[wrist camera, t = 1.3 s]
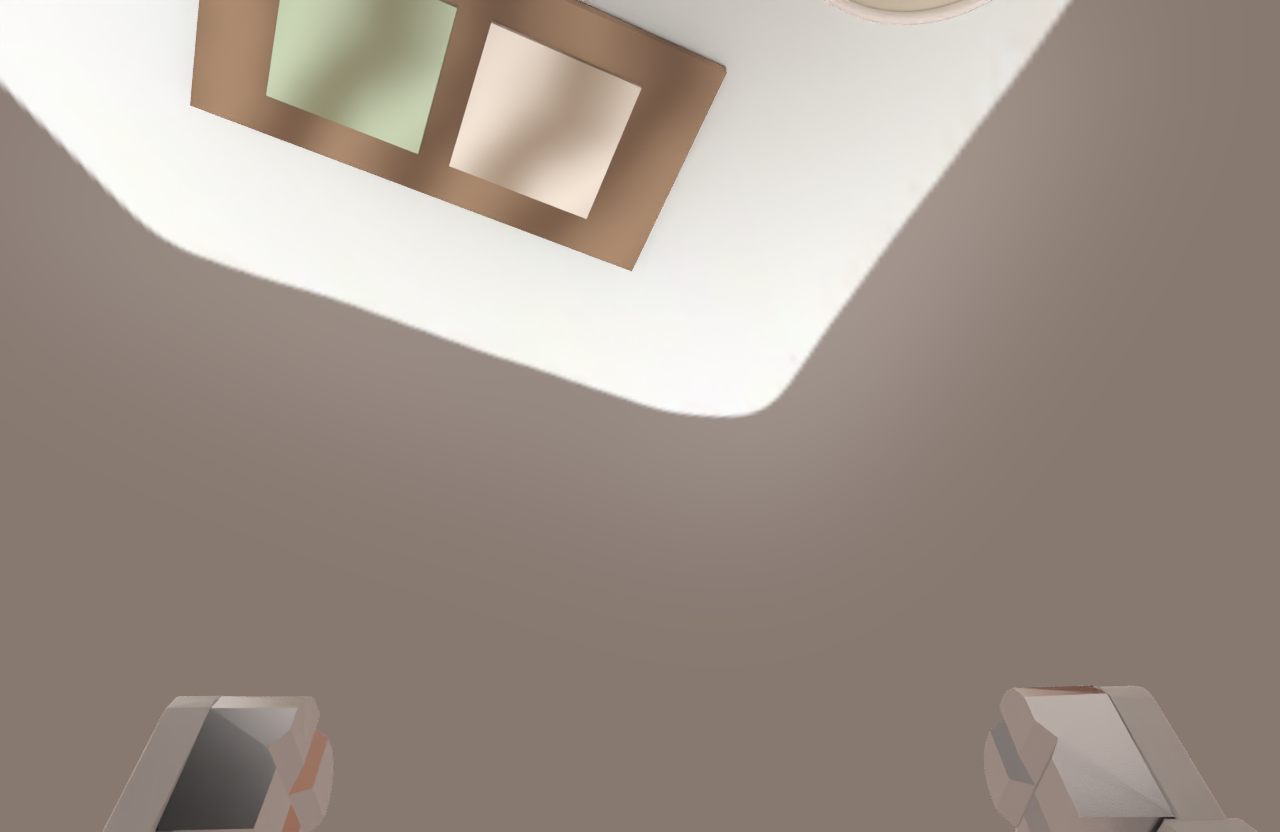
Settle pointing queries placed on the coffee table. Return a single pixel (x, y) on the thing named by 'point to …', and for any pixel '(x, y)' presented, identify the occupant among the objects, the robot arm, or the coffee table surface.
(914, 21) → the candle holder
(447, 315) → the coffee table surface
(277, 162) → the coffee table surface
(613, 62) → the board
